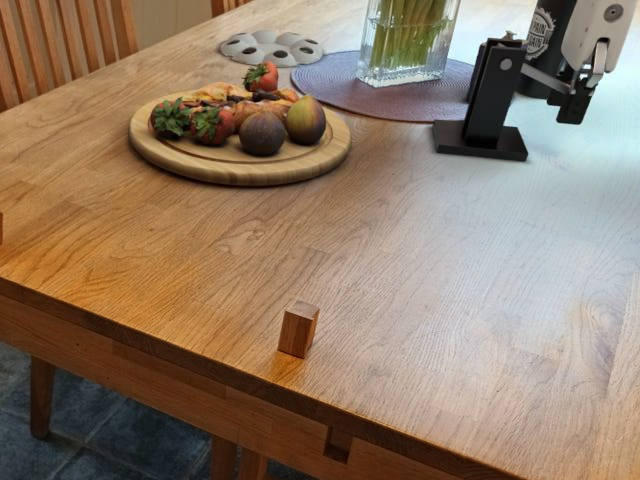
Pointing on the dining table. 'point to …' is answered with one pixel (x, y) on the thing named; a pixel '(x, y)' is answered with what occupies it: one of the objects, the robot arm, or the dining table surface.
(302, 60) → the round palette
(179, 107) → the wooden plate
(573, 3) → the water bottle
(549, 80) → the lever
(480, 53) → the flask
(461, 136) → the black stand
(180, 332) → the dining table surface
